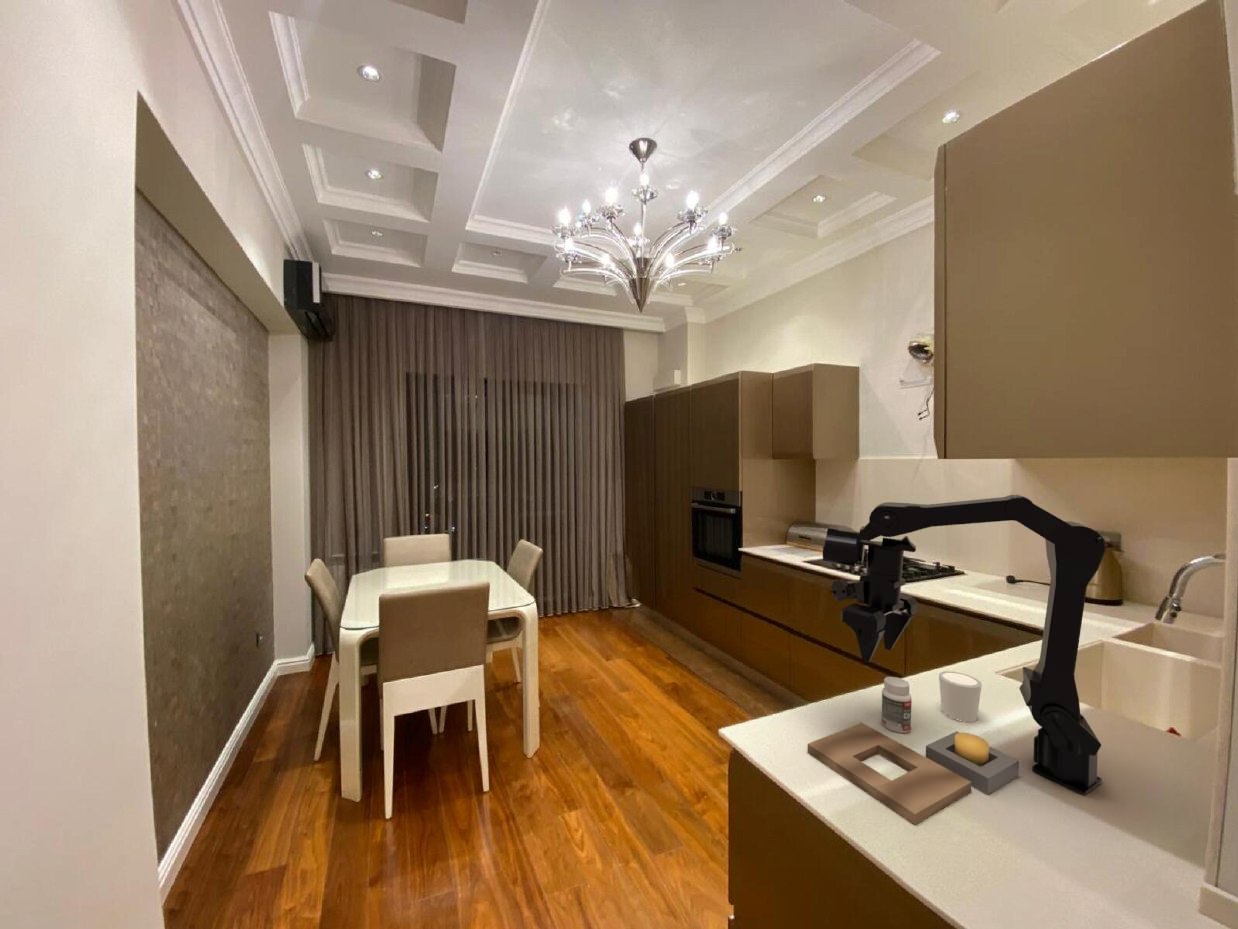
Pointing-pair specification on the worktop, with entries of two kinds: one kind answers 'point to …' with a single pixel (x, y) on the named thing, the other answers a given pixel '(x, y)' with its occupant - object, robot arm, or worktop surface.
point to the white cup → (959, 695)
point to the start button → (972, 748)
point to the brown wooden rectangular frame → (905, 795)
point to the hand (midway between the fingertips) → (877, 655)
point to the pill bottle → (896, 705)
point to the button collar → (974, 765)
